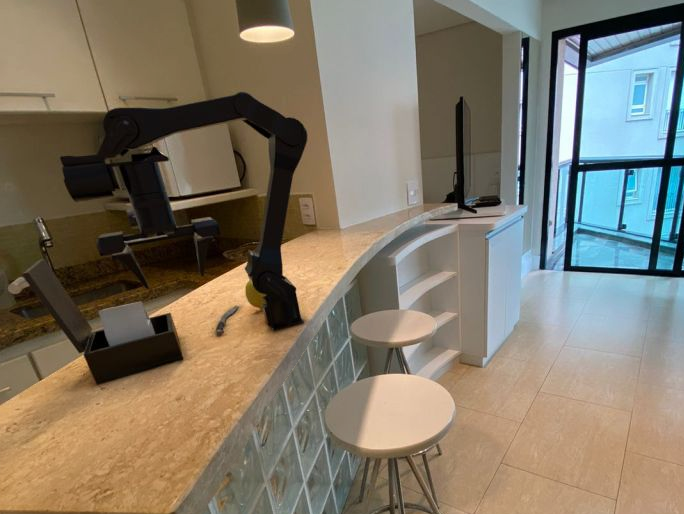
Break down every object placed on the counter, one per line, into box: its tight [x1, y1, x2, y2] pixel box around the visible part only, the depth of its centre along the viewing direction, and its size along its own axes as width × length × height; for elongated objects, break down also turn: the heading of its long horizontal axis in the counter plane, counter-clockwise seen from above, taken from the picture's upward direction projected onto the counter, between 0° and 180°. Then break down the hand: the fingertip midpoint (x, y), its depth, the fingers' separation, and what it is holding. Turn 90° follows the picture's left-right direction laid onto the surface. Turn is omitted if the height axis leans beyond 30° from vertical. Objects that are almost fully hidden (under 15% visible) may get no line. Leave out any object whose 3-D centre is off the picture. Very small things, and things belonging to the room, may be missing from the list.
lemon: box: [244, 279, 266, 311], centre depth 93 cm, size 6×6×8 cm
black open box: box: [83, 312, 184, 386], centre depth 75 cm, size 14×12×6 cm
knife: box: [215, 305, 239, 335], centre depth 90 cm, size 17×1×3 cm
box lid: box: [7, 258, 93, 354], centre depth 67 cm, size 14×12×4 cm
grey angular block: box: [97, 300, 155, 346], centre depth 74 cm, size 4×7×10 cm, turn 115°
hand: (175, 282), depth 74 cm, fingers open, 9 cm apart
